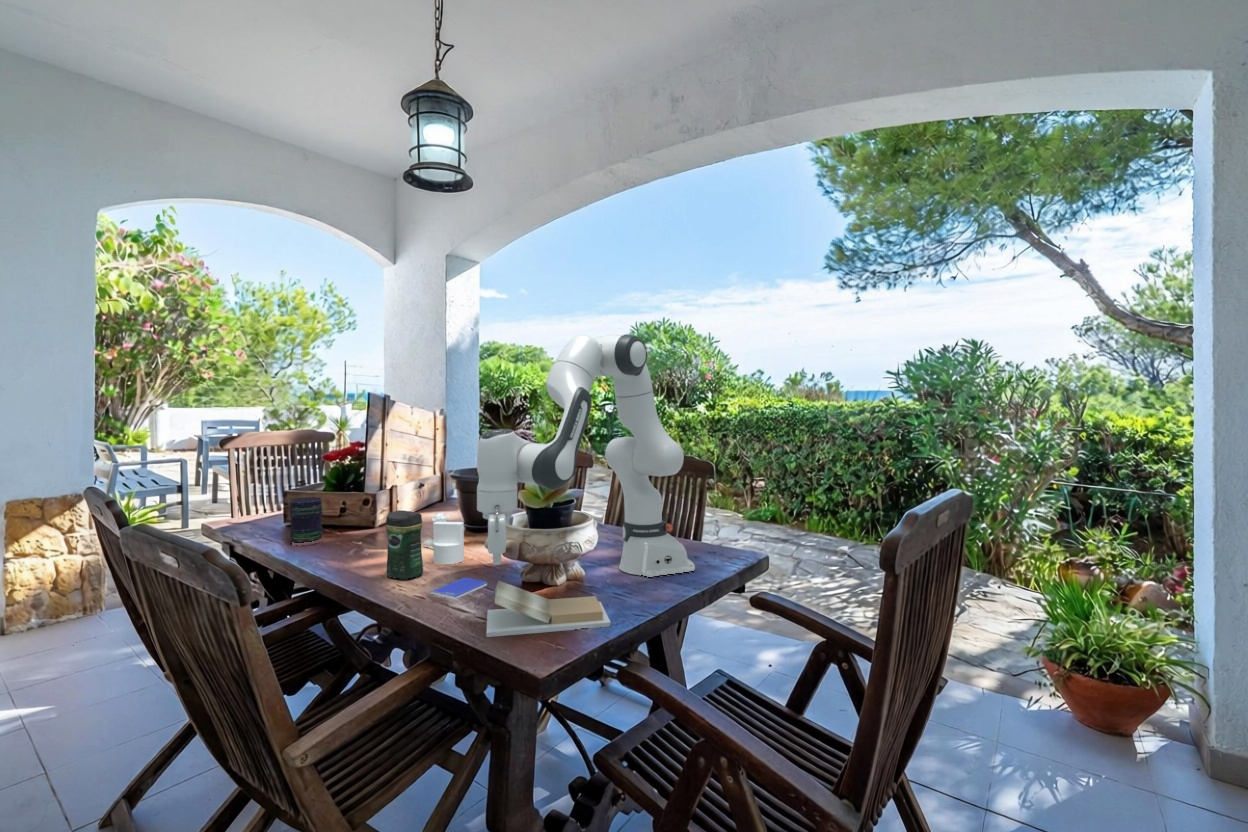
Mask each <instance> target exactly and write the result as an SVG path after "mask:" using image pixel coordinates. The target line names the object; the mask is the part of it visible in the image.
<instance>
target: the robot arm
mask: <svg viewBox="0 0 1248 832" xmlns="http://www.w3.org/2000/svg"><path fill="white" fill-rule="evenodd" d="M647 357H648V350H647V346H646V345H645V343H644V341H643V340H642V339H641V338H640V337H639V336H637V335H633V334H627V333H626V334H623V335H622V334H607V335H602V336H596V337H592V336H589V335H586V334H579V335H575V336H573V337H572V338H571V339H570V340H569V341H568V343H566V344H565V346H564V347H563V349H562V350H561V351H560V353H559V354H558V356H557V357H556V359H555V361H554V363H553V365H552V367H551V368H550V370H549V372H548V374H547V378H546V381H545V388H546V391H547V394H548V395H549V397H550V398H551V399H552V401H553V402H554V403H555V404H557V405H558V406H559V407H561V408H562V409H563V414H562V418H561V421H560V424H559V427H558V428H557V431H556V435H555V437H554V439H553V440H551V441H550V442H549V443H548V442H547V443H538V442H537V443H536V442H531V441H529V440H526V439H524V438H522V437H521V436H519V435H518V434H516V432H515V431H514V429H510V428H499V429H491V430H488V431H486V432H484V433H483V434H482V435H481V436H480V438H479V442H478V446H477V453H476V454H477V456H476V457H477V459H476V471H477V474H478V484H477V486H476V510H477V512H479V513H482V518H483V519H485V520H487V552H488V554H490V555H492V565H493V566H500V565H502V554H505V553H506V550H507V549H506V548H507V521H508V520H507V519H510V518H511V517H512V516H513V515H512V512H516V510H517V509H518V484H519V483H523V484H527V485H531V486H539V487H542V488H545V489H548V490H552V491H556V490H560V489H563V488H564V487H565V486H566V485H567V484H568V483H569V482H570V481H571V479H572V478H573V476H574V473H575V471H576V464H577V463H576V462H577V456H578V452H579V448H580V445H581V442H582V440H583V436H584V433H585V430H586V427H587V423H588V421H589V416H590V414H591V409H592V401H593V399H592V395H591V393H590V392H591V388H592V386H593V384H594V381H595V379H596V378H597V377H612V378H613V389H614V396H615V397H614V399H615V404H616V409H617V417H618V421H619V422H620V424H621V425H623V427H625V428H626V429H627V430H629V432H630V433H631V434H632V436H623V437H622V436H621V437H615V438H613V439H611V440H610V441H609V442H608V444H607V446H606V448H605V453H604V454H605V457H604V458H605V461H606V463H607V465H608V467H609V468H610V469H612V470H613V472H614V473H615V475H616V477H617V479H618V481H619V484H620V485H621V489H622V493H623V500H624V502H623V505H624V520H623V521H622V539H623V544H622V545H623V546H622V552H621V558H620V562H619V566H618V568H619V570H620V571H622V572H624V573H625V574H630V575H634V576H635V575H637V576H641V575H643V576H642V577H644V576H647V577H646V578H648V577H653V576H659V575H667V574H674V575H676V574H675V573H682V574H684V573H683V572H689V571H694V570H695V571H696V566H695V564H694V562H693V561H692V560H691V559H689V558H688V552H687V549H686V548H685V546H684V545H683V543H681V542H679V540H677V539H676V538H675V537H674V536H672V535H671V534H670V533H668V532H672V531H673V530H674V526H673V524H670V523H668V522H666V521H665V520H663V516H662V515H663V514H662V513H663V512H662V511H663V498H662V494H661V493H660V491H659V490H658V489H657V488H655V487H654V485H653V484H652V482H651V481H650V479H649V476H651V477H652V476H653V477H667V476H674V475H676V474H677V473H679V472H680V471H681V469H682V467H683V464H684V459H685V458H684V455H685V454H684V450H683V449H682V447H681V445H680V444H679V443H678V442H677V441H675V440H674V439H673V438H672V437H671V436H670V435H669V434H668V432H667V430H665V428H664V426H663V425H662V423H661V420H660V418H659V414H658V412H657V407H656V401H655V396H654V395H655V394H654V389H653V383H652V377H651V374H650V371H649V367H648V364H647V359H648V358H647ZM695 571H694V572H695ZM689 573H690V572H689ZM667 576H668V575H667ZM653 578H654V577H653Z"/></svg>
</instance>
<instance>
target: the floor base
mask: <svg viewBox="0 0 1248 832" xmlns="http://www.w3.org/2000/svg"><path fill="white" fill-rule="evenodd" d="M548 601H549V605H550V609H551V613H552V616H551V618H550V620H549V622H548V623H546V622H543V621H540V620H538V619H535V618H532V617H529V616H527V615H524V614H521V613H518V612H516V611H513V610H510V609H507V608H497V609H487V615H486V617H487V618H486V637H485V638H491V637H492V638H493V637H505V636H517V635H527V634H528V635H529V634H538V633H539V634H540V633H541V634H543V633H552V632H563V631H575V629H577V630H582V629H581V628H589V629H597V628H598V629H599V628H600V627H601V628H610V626H611V624H612V623H611V620H610V618H609V616H608V614H607V612H606V610H605V608H604V606H603V604H602V602H601V601H598V598H597V596H596V595H593V596H581V597H578V596H577V597H566V598H564V597H562V598H552V599H551V598H550V599H549V598H548ZM611 627H612V626H611Z"/></svg>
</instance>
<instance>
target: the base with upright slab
mask: <svg viewBox="0 0 1248 832" xmlns="http://www.w3.org/2000/svg"><path fill="white" fill-rule="evenodd" d="M432 524H433V525H432V526H433V528H432V530H433V533H432V536H433V539H432V540H433V541H434V543H433V549H432V550H433V563H434V562H436V563H439V564H454V563H458V562H461V561H463V560H464V559H465V541H464V539H465V538H464V537H465V536H464V535H465V534H464V533H465V531H464V530H465V529H464V525H465V524H464V522H462V521H447V522H435V523H432ZM464 561H465V560H464ZM464 561H463V562H464Z"/></svg>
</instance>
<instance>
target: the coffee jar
mask: <svg viewBox="0 0 1248 832" xmlns="http://www.w3.org/2000/svg"><path fill="white" fill-rule="evenodd" d="M385 528H386V533H387V554H386V555H387V556H386V557H387V558H386V559H387V560H386V576H387V577H388V576H391V577H395V578H394V579H396V578H400V579H399V580H409V579H408V578H410V579H414V578H413V577H416V578H418V577H420V576H421V575H422V574H423V573H424V565H423V563H424V562H423V561H424V560H423V553H422V551H423V550H422V540H421V536H422V528H423V517H422V513H421V512H417V511H409V510H395V511H390V512H388V514H387V515H386V520H385ZM419 575H420V576H419ZM417 576H418V577H417ZM391 577H390V578H391Z"/></svg>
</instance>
